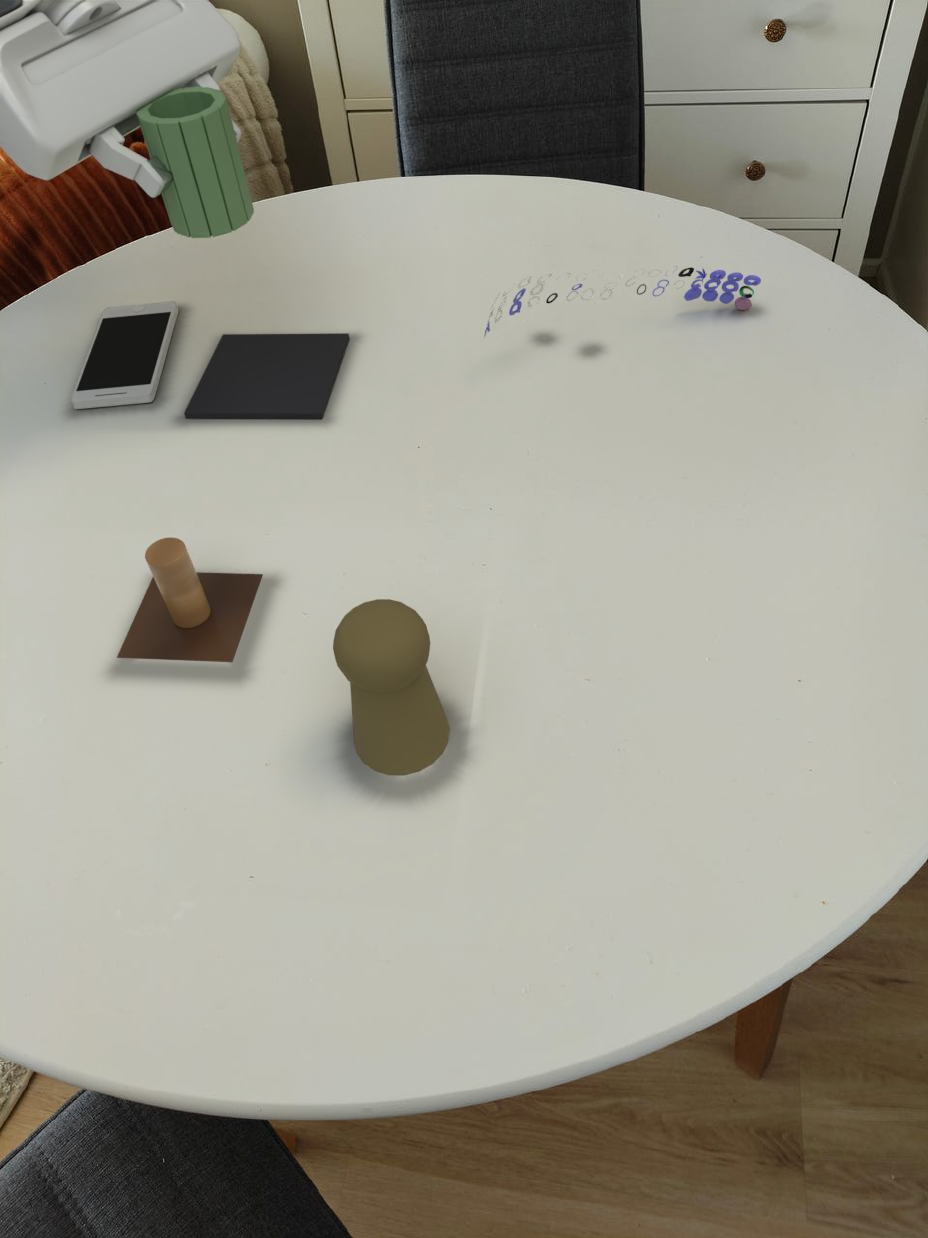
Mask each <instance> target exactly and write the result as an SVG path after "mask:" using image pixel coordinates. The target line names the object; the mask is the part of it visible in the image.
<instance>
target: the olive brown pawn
mask: <svg viewBox="0 0 928 1238" xmlns="http://www.w3.org/2000/svg"><path fill="white" fill-rule="evenodd" d="M430 649H431V637H430V634H429V630H428V627H427V624H426V623H425V621H424V619H423V618H422V616H421V615H420V614H419V613H418V612H417V611H416V610H415V609H413V608H412V607H410V606H409V605H407V604H405V603H404V602H401V601H398V600H394V599H391V598H388V599H387V598H385V599H384V598H383V599H382V598H380V599H379V598H378V599H377V598H376V599H373V600H369V601H365V602H363V603H360V604H359V605H357V606H355V607H353V608H352V609H350V610H349V611H348V612H347V613H346V614H345V615H343V618H342V619H341V620H340V622H339V624H338V626H337V627H336V628H335V631H334V637H333V642H332V651H333V655H334V660H335V662H336V666H337V668H338V669H339V670H340V672H341V674H342V675H343V676H344V677H345V679H346V680H347V681H348V682H349V684H350V685H349V686H350V703H351V704H350V705H351V719H352V734H353V735H352V736H353V744H354V748H355V752H356V754H357V756H358V757H359V759H360V760H361V761H362V763H363V764H364V765H365V766H367V767H368V768H370V769H371V770H372V771H374V772H377V773H380V774H383V775H387V776H408V775H411V774H415V773H419V772H422V771H423V770H425V769H426V768H429V767H430V766H432V765H433V764H435V762H436V761H437V760H438V759H439V758H440V757H441V756H442V755H443V754H444V753H445V750H446V748H447V746H448V744H449V742H450V734H451V733H450V731H451V728H450V724H449V721H448V718H447V715H446V712H445V709H444V707H443V705H442V702H441V700H440V697H439V695H438V692H437V690H436V687H435V684H434V681H433V679H432V677H431V674H430V672H429V670H428V669H429V668H428V667H427V663H428V661H429V657H430Z"/></svg>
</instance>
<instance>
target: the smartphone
mask: <svg viewBox="0 0 928 1238" xmlns="http://www.w3.org/2000/svg"><path fill="white" fill-rule="evenodd" d="M178 314H179V307H178V304H177V302H176V300H171V301H159V302H151V303H149V302H148V303H140V304H130V305H129V304H128V305H120V306H109V307H106V308H104V310H103V311H102V314H101V315H100V316H101V317H100V318H99V322H98V323H97V327H96V330H95V332H94V335H93V338H92V341H91V343H90V346H89V349H88V351H87V354H86V357H85V359H84V362H83V365H82V368H81V369H80V373H79V376H78V378H77V381H76V384H75V386H74V389H73V392H72V395H71V398H70V402H71V404H72V406H73V408H74V409H75V410H83V409H93V408H94V409H95V408H104V407H105V408H106V407H114V406H125V405H135V404H136V405H137V404H146V403H151V402H153V401H154V399H155V397H156V394H157V390H158V387H159V383H160V380H161V376H162V372H163V369H164V365H165V362H166V357H167V354H168V351H169V347H170V343H171V341H172V340H171V339H172V336H173V333H174V330H175V329H174V328H175V325H176V323H177V319H178Z"/></svg>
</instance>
